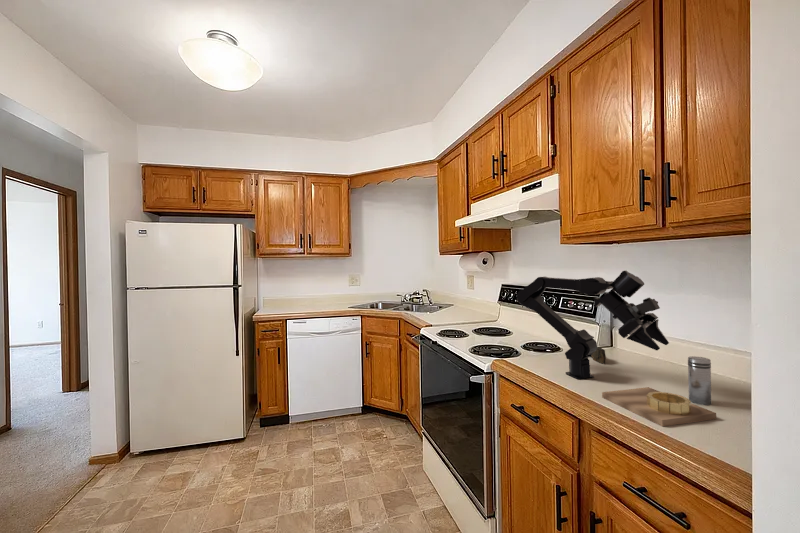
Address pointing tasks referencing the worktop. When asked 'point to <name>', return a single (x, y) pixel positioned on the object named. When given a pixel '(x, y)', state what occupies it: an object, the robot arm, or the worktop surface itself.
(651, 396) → the brass ring collar
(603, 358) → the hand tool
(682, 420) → the walnut board
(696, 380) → the piston
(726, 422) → the worktop surface
